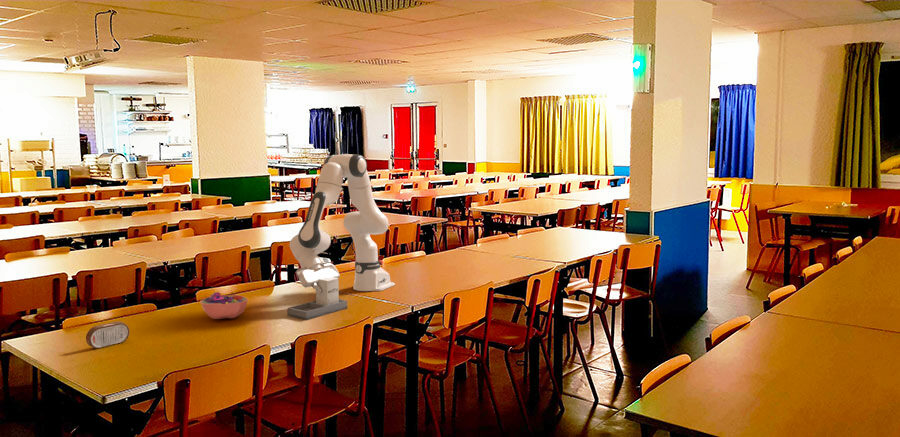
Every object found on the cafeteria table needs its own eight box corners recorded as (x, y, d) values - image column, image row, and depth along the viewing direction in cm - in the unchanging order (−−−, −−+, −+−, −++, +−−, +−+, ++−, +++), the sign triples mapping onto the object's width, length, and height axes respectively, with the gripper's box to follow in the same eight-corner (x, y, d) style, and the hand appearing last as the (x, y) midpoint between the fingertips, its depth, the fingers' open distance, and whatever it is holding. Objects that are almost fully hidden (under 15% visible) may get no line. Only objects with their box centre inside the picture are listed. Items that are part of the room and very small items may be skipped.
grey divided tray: (328, 304, 310) (328, 297, 309) (347, 308, 303) (347, 300, 302) (287, 315, 291) (287, 307, 290) (306, 320, 284) (306, 312, 283)
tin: (127, 340, 258) (126, 318, 257) (131, 341, 256) (129, 320, 255) (86, 350, 247) (84, 327, 246) (90, 351, 245) (88, 329, 244)
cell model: (236, 325, 278) (235, 298, 276) (192, 322, 281) (191, 296, 280) (256, 314, 294) (255, 288, 293) (214, 312, 298) (213, 287, 297)
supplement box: (327, 308, 296) (326, 280, 294) (315, 306, 300) (315, 278, 299) (339, 305, 302) (338, 277, 300) (327, 302, 306) (327, 275, 305)
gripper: (297, 265, 295) (313, 290, 290) (332, 258, 311) (347, 281, 306) (291, 274, 298) (307, 298, 293) (325, 266, 314) (341, 289, 310)
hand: (328, 290), depth 300 cm, fingers closed on supplement box, 7 cm apart
